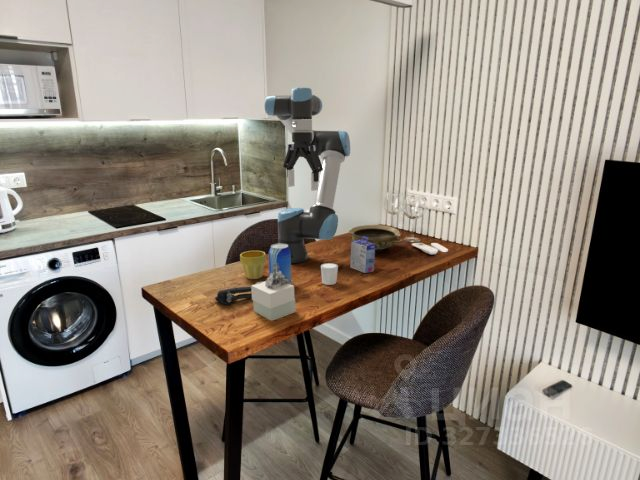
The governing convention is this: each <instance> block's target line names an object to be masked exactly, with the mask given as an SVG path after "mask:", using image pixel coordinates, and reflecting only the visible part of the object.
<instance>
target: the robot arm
mask: <svg viewBox="0 0 640 480" xmlns="http://www.w3.org/2000/svg"><path fill="white" fill-rule="evenodd" d="M322 109H323V102H322V99H321V98H320V97H318V96H316V95H314V94H313V91H312V88H310V87H293V88H292V89H291V94H290V95H276V94H275V95H268V96H266V97H265V99H264V111H265V114H266V115H268V116H273V117H275V116H276V117H277V118H278V119H279V121H280V122H281V123H282V125H283V126H284V127H285V128H286V130H288V132H289V133H290V134H291V142H292V143H289V144H288V145H287V152H286V155H285V159H284V162H283V165H282V166H283V168H285V169H286V177H287V187H291V188H292V187H295V169H294V167H295V165H296V163H297V162H298V160H299V158H303V159H305V161H306V162H307V164H308V167H310V169H311V173H310V176H311V177H310V181H311V182H310V185H311V187H310V188H311V189H310V190H311V191H316V194H315V198H314V203H313V205H311V206H310V207H309V211H308V212H307V211H305V210H304V208H303V207H292V208H287V209H283V210H281V211H279V212H278V214H277V238H278V243H277V244H279V243H282V244H287V245H288V248H289V249H290V251H291V264H298V263H302V262H305V261H307V260H308V259H309V253H308V250H307V248H306V244H305V239H311V240H319V241H323V240H324V241H325V240H327V241H328V240H332V239H333V238H334V237H335V235H336V233H337V230H338V225H339V217H338V214H336V210H335V209H334V203H335V199H336V198H335V197H336V192H337V186H338V183H339V182H338V180H339V175H340V171H341V165H342V164H343V163H344V162H345V160H346V158H347V157H350V155H351V142H350V141H351V140H350V136H349V134H348V132H347V131H345V130H313V119H312V118H313V116H316V115H318V114H320V113H321V111H322ZM321 160H322V162H321Z"/></svg>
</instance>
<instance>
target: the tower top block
mask: <svg viewBox="0 0 640 480" xmlns="http://www.w3.org/2000/svg"><path fill="white" fill-rule="evenodd" d="M261 282H262V283H260V284H257V283H255V284H252V285H251V286H250V287H251V293H252V298H251V300H252V301H253V300H254V301H256V302H258V303H260V304H262V305H264V306H266V307H268V308H270V309H271V308H274V307H277V306H279V305H282V304H285V303H287V302H290V301H293V300H294V299H295V285H293V284H291V283H290V284H286V285H283V286H281V287H277V288H275V289H271V288H268V287H265V283H266V280H265V281H261Z"/></svg>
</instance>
